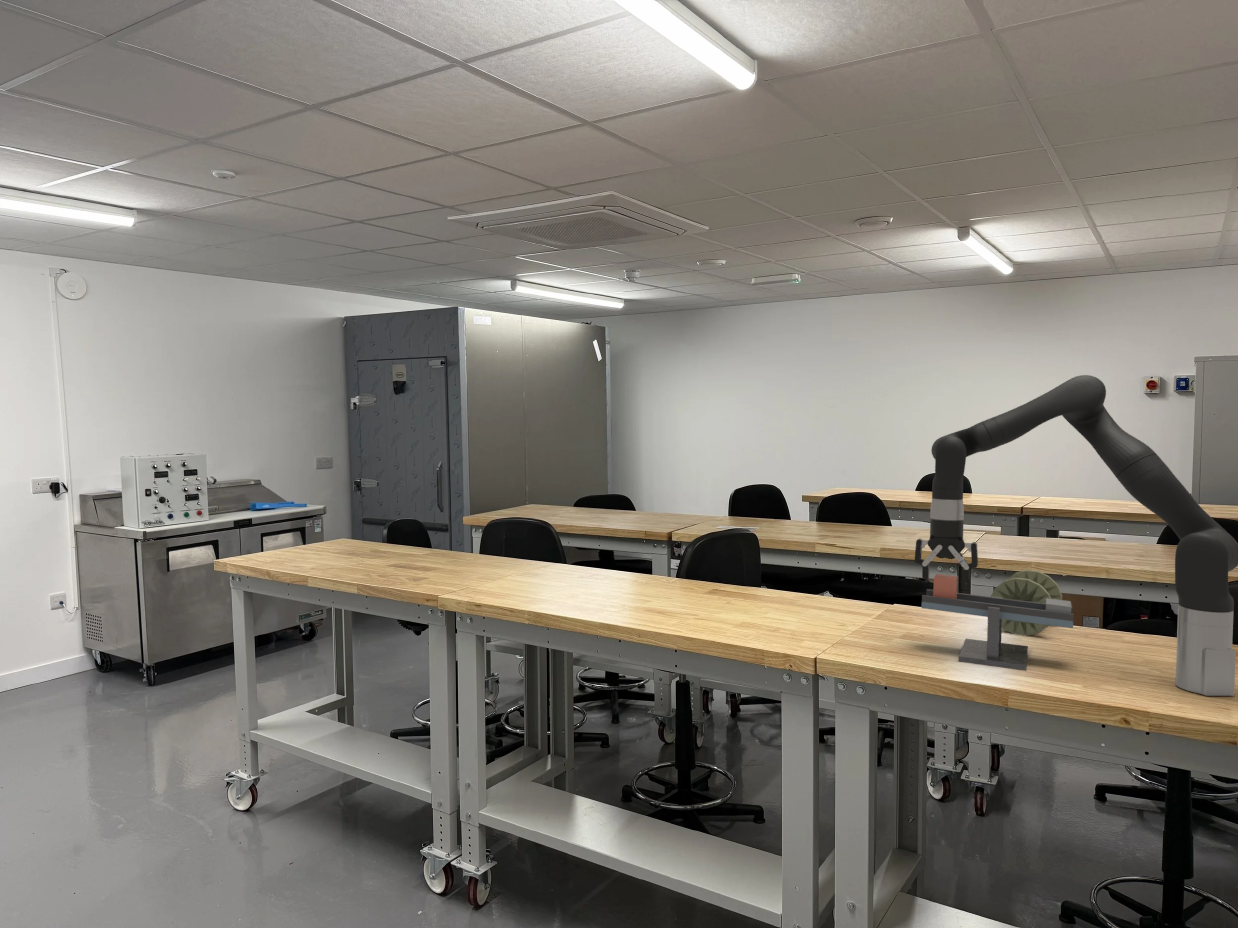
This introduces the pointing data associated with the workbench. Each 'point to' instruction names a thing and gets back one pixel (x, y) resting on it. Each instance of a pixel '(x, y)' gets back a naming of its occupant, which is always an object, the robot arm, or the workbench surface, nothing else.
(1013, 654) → the pivot stand
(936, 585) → the block
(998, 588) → the spool
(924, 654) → the workbench surface
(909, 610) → the workbench surface
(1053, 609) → the balance beam
